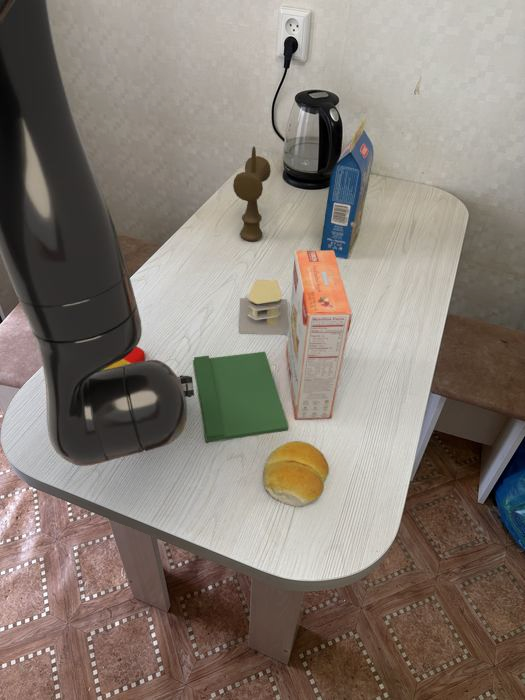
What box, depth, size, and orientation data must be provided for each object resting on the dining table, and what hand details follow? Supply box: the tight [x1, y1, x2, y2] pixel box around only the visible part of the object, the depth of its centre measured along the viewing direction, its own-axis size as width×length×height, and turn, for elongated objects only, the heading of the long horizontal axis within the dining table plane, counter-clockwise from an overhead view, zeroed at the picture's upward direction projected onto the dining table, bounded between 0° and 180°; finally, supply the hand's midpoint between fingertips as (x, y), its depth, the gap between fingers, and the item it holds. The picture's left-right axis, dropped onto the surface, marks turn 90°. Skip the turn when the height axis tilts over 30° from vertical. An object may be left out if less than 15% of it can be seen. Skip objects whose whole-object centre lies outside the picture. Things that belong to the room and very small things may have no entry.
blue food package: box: [319, 115, 375, 259], centre depth 103 cm, size 6×12×25 cm, turn 160°
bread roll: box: [262, 440, 330, 508], centre depth 67 cm, size 8×9×4 cm
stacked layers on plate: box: [238, 279, 289, 335], centre depth 90 cm, size 10×9×6 cm
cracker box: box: [285, 250, 353, 420], centre depth 73 cm, size 14×6×21 cm, turn 3°
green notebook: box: [192, 351, 289, 443], centre depth 78 cm, size 12×16×1 cm
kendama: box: [232, 146, 272, 242], centre depth 105 cm, size 6×10×20 cm, turn 167°
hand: (142, 388), depth 72 cm, fingers closed on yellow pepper, 6 cm apart
